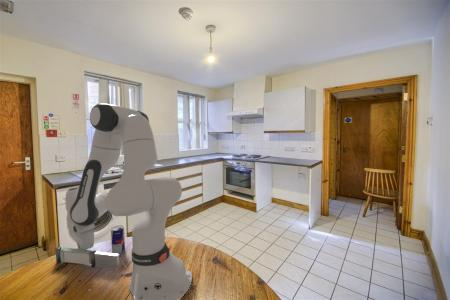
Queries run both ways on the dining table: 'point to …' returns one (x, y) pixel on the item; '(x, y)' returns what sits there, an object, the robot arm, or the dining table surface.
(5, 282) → the dining table surface
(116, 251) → the energy drink
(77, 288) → the dining table surface
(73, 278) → the dining table surface
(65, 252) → the gate
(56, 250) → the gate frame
